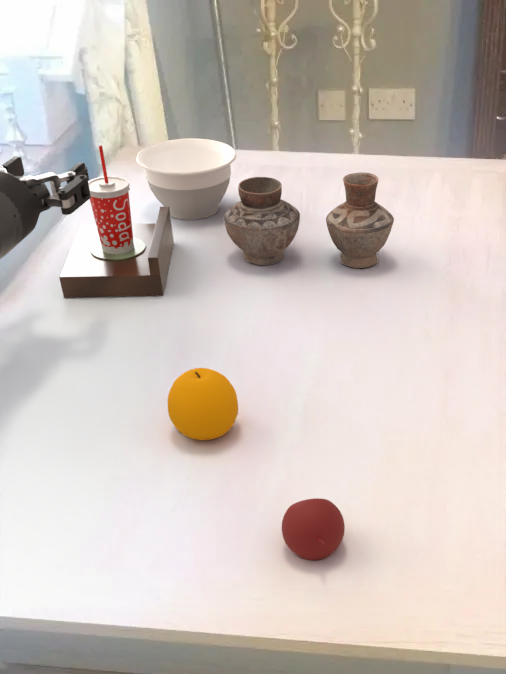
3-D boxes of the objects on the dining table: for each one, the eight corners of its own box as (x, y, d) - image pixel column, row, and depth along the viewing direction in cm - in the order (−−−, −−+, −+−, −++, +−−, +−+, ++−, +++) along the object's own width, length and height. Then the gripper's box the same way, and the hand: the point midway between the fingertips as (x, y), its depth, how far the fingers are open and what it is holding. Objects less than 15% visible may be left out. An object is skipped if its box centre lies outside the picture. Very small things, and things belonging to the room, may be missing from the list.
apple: (224, 455, 100) (218, 397, 94) (160, 443, 101) (150, 385, 96) (250, 417, 105) (246, 360, 100) (188, 406, 107) (180, 349, 102)
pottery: (391, 278, 131) (395, 194, 123) (221, 273, 132) (213, 189, 124) (392, 245, 139) (396, 164, 131) (232, 241, 140) (226, 160, 132)
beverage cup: (104, 260, 128) (85, 156, 118) (90, 244, 132) (71, 142, 122) (145, 251, 130) (129, 148, 120) (130, 235, 134) (114, 135, 124)
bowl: (198, 183, 157) (193, 131, 151) (260, 208, 149) (256, 154, 143) (124, 209, 149) (115, 155, 143) (185, 237, 141) (178, 181, 135)
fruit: (286, 575, 89) (289, 549, 81) (277, 521, 90) (280, 491, 83) (346, 567, 90) (355, 541, 82) (337, 514, 91) (345, 483, 83)
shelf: (63, 297, 127) (55, 259, 123) (83, 244, 139) (76, 207, 136) (163, 295, 127) (157, 257, 123) (173, 242, 140) (169, 206, 136)
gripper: (40, 190, 97) (99, 140, 108) (-79, 178, 99) (-9, 130, 111) (55, 257, 103) (110, 203, 114) (-59, 245, 105) (6, 193, 116)
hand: (51, 167), depth 112 cm, fingers open, 8 cm apart
